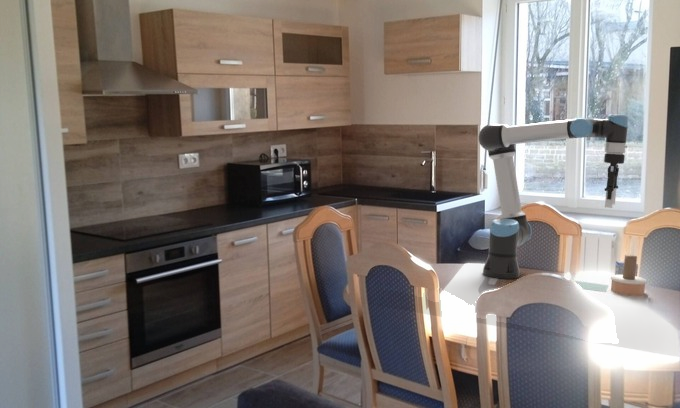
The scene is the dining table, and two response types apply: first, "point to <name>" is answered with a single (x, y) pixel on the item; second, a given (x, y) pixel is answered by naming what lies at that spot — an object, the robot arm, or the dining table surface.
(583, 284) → the trivet
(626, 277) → the lid
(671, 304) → the dining table surface
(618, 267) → the medicine box
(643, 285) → the bowl
